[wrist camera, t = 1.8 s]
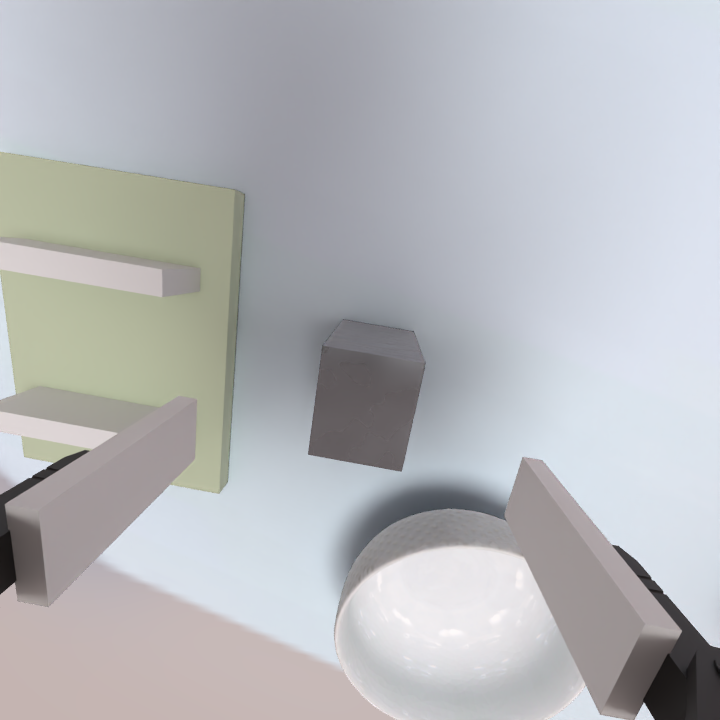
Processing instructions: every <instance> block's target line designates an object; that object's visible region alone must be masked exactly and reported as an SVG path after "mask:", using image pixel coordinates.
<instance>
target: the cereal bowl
mask: <svg viewBox="0 0 720 720" xmlns="http://www.w3.org/2000/svg"><path fill="white" fill-rule="evenodd" d="M334 641H335V648H336V653H337V656H338V659H339V661H340V664H341V666H342V668H343V670H344V672H345V674H346V676H347V678H348V679H349V680H350V682H351V683H352V685H353V686H354V687H355V688H356V689H357V691H358V692H359V693H360V694H361V695H362V696H363V697H364V698H365V699H366V700H367V701H369V702H370V703H371V704H372V705H374V706H375V707H376V708H377V709H379V710H380V711H382V712H384V713H385V714H387V715H388V716H390V717H392V718H394V719H396V720H547V719H549V718H551V717H553V716H555V715H556V714H558V713H559V712H561V711H562V710H563V709H564V708H565V707H567V706H568V705H569V704H570V703H571V702H572V701H573V700H574V699H575V698H576V697H577V696H578V695H579V694H580V693H581V691H582V690H583V689H584V687H585V686H586V684H585V682H584V680H583V678H582V676H581V674H580V672H579V670H578V668H577V666H576V664H575V661H574V659H573V657H572V655H571V653H570V651H569V649H568V647H567V645H566V643H565V641H564V639H563V637H562V635H561V632H560V630H559V628H558V626H557V624H556V622H555V620H554V618H553V616H552V614H551V612H550V610H549V608H548V606H547V603H546V601H545V599H544V597H543V595H542V593H541V591H540V589H539V587H538V585H537V583H536V581H535V579H534V577H533V574H532V572H531V570H530V568H529V566H528V564H527V562H526V560H525V558H524V556H523V554H522V552H521V550H520V548H519V545H518V543H517V541H516V539H515V537H514V535H513V533H512V531H511V529H510V527H509V525H508V523H507V521H505V520H503V519H499V518H497V517H496V516H492V515H488V514H485V513H480V512H475V511H470V510H463V509H459V510H458V509H450V508H447V509H441V510H433V511H428V512H421V513H418V514H415V515H412V516H408V517H407V518H403V519H402V520H398V521H397V522H395V523H393V524H391V525H390V526H388V527H387V528H386V529H384V530H382V531H381V532H380V533H379V534H378V535H376V536H375V537H374V538H373V539H372V540H371V541H370V542H369V543H368V545H367V546H366V547H365V548H364V549H363V550H362V552H361V553H360V555H359V556H358V557H357V558H356V560H355V562H354V563H353V565H352V567H351V570H350V571H349V572H348V576H347V579H346V581H345V583H344V588H343V590H342V593H341V598H340V601H339V605H338V611H337V615H336V621H335V628H334Z"/></svg>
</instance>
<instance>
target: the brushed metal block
mask: <svg viewBox="0 0 720 720" xmlns="http://www.w3.org/2000/svg"><path fill="white" fill-rule="evenodd" d="M425 364H426V363H425V360H424V358H423V355H422V352H421V350H420V347H419V344H418V342H417V339H416V336H415V334H414V331H408V330H402V329H397V328H391V327H385V326H379V325H373V324H367V323H362V322H356V321H350V320H344V319H343V320H342V321H341V322H340V324H339V325H338V326H337V328H336V329H335V330H334V331H333V333H332V334H331V335H330V336H329V338H328V339H327V340H326V342H325V343H324V344H323V345H322V353H321V360H320V368H319V375H318V383H317V391H316V398H315V406H314V413H313V421H312V428H311V436H310V444H309V451H308V455H314V456H319V457H325V458H330V459H336V460H341V461H346V462H352V463H357V464H363V465H368V466H374V467H379V468H385V469H390V470H395V471H401V472H402V468H403V463H404V459H405V454H406V450H407V445H408V441H409V436H410V432H411V427H412V423H413V418H414V414H415V409H416V405H417V400H418V396H419V391H420V387H421V382H422V378H423V373H424V369H425Z"/></svg>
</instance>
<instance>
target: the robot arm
mask: <svg viewBox="0 0 720 720" xmlns="http://www.w3.org/2000/svg"><path fill="white" fill-rule="evenodd" d="M196 419H197V399H194V398H188V397H183V396H178V397H176V398H174V399H173V400H171V401H170V402H168V403H166V404H165V405H163V406H162V407H160V408H158V409H157V410H155V411H153V412H152V413H150V414H149V415H147V416H145V417H144V418H142V419H141V420H139V421H137V422H136V423H134V424H133V425H131V426H129V427H128V428H126V429H125V430H123V431H121V432H120V433H118V434H117V435H115V436H113V437H112V438H110V439H108V440H107V441H105V442H104V443H102V444H100V445H99V446H97V447H96V448H94V449H92V450H91V451H88V450H83V451H80V452H77V453H75V454H72V455H69V456H66V457H64V458H62V459H60V460H59V461H57V462H55V463H54V464H52V465H50V466H48V467H47V469H46V470H44V469H43V470H42V471H40V472H38V473H37V474H35V475H33V477H32V478H28V479H26V480H25V481H23V482H21V483H20V484H18V485H16V486H15V487H13V488H11V489H10V490H8V491H6V492H4V493H3V494H1V495H0V594H1V593H3V592H4V591H5V590H6V589H7V588H8V587H9V586H11V585H12V584H13V583H14V582H15V585H16V592H17V600H18V601H19V602H24V603H29V604H35V605H40V606H45V607H49V606H50V605H51V604H52V603H53V602H54V601H55V600H56V599H57V598H58V597H59V596H60V595H61V594H62V593H63V592H64V591H65V590H66V589H67V588H68V587H69V586H70V585H71V584H72V583H73V582H74V581H75V580H76V579H77V578H78V577H79V576H80V575H81V574H82V573H83V572H84V571H85V570H86V569H87V568H88V567H89V566H90V565H91V564H92V563H93V562H94V561H95V560H96V559H97V558H98V557H99V556H100V555H101V554H102V553H103V552H104V551H105V550H106V549H107V548H108V547H109V546H110V545H111V544H112V543H113V542H114V541H115V540H116V539H117V538H118V537H119V536H120V535H121V534H122V533H123V531H124V530H125V529H126V528H127V527H128V526H129V525H130V524H131V523H132V522H133V521H134V520H135V519H136V518H137V517H138V516H139V515H140V514H141V513H142V512H143V511H144V510H145V509H146V508H147V507H148V506H149V505H150V504H151V503H152V502H153V501H154V500H155V499H156V498H157V497H158V496H159V495H160V494H161V493H162V492H163V491H164V490H165V489H166V488H167V487H168V486H169V485H170V484H171V483H172V482H173V481H174V480H175V479H176V478H177V477H178V476H179V475H180V474H181V473H182V472H183V471H184V470H185V469H186V468H187V467H188V466H189V465H190V464H191V463H192V462H193V461H194V460H195V446H196ZM504 516H505V519H506V521H507V523H508V525H509V527H510V529H511V531H512V533H513V535H514V537H515V539H516V541H517V543H518V545H519V548H520V550H521V552H522V554H523V556H524V558H525V560H526V562H527V564H528V566H529V568H530V570H531V572H532V574H533V577H534V579H535V581H536V583H537V585H538V587H539V589H540V591H541V593H542V595H543V597H544V599H545V601H546V603H547V606H548V608H549V610H550V612H551V614H552V616H553V618H554V620H555V622H556V624H557V626H558V628H559V630H560V632H561V635H562V637H563V639H564V641H565V643H566V645H567V647H568V649H569V651H570V653H571V655H572V657H573V659H574V661H575V664H576V666H577V668H578V670H579V672H580V674H581V676H582V678H583V680H584V682H585V684H586V686H587V688H588V690H589V693H590V695H591V697H592V699H593V701H594V703H595V705H596V707H597V709H598V711H599V713H600V715H605V716H611V717H616V718H621V719H626V720H634V719H635V718H636V716H637V714H638V712H639V710H640V708H641V706H642V705H643V703H645V704H646V706H647V708H648V709H649V711H650V713H651V714H652V716H653V718H654V719H655V720H720V648H717V647H713V646H710V645H709V644H708V643H707V642H706V640H705V639H704V638H703V637H702V636H701V635H700V633H699V632H698V631H697V630H696V629H695V628H694V626H693V625H692V624H691V623H690V622H689V621H688V619H687V618H686V617H685V616H684V615H683V614H682V613H681V611H680V610H679V609H678V608H677V607H676V606H675V604H674V603H673V602H672V601H671V600H670V599H669V597H668V596H667V595H665V594H663V590H662V589H661V588H660V587H659V586H658V585H657V583H656V582H655V581H653V580H651V577H650V575H649V574H648V573H647V572H646V571H645V570H644V568H643V567H642V566H641V565H640V564H639V563H638V561H636V560H635V559H634V558H633V557H631V556H630V555H629V554H628V553H626V552H625V551H624V550H623V549H622V548H620V547H619V546H615V545H611V544H610V542H609V541H608V540H607V539H606V538H605V536H604V535H603V534H602V533H601V531H600V530H599V529H598V528H597V527H596V525H595V524H594V523H593V522H592V520H591V519H590V518H589V517H588V516H587V514H586V513H585V512H584V511H583V509H582V508H581V507H580V506H579V505H578V503H577V502H576V501H575V500H574V498H573V497H572V496H571V495H570V494H569V492H568V491H567V490H566V489H565V488H564V486H563V485H562V484H561V483H560V481H559V480H558V479H557V478H556V477H555V475H554V474H553V473H552V472H551V470H550V469H549V468H548V467H547V466H546V464H545V463H544V462H543V461H542V460H538V459H532V458H526V457H523V458H522V461H521V464H520V467H519V470H518V473H517V476H516V480H515V483H514V486H513V489H512V492H511V495H510V498H509V501H508V505H507V508H506V511H505V514H504Z"/></svg>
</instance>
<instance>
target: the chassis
mask: <svg viewBox="0 0 720 720" xmlns="http://www.w3.org/2000/svg"><path fill="white" fill-rule="evenodd" d="M244 198H245V194H243V193H241V192H239V191H237V190H234V189H228V188H221V187H215V186H209V185H203V184H197V183H190V182H184V181H178V180H172V179H166V178H159V177H153V176H147V175H141V174H135V173H128V172H122V171H116V170H110V169H104V168H97V167H91V166H85V165H79V164H73V163H66V162H60V161H54V160H48V159H42V158H35V157H29V156H23V155H17V154H11V153H4V152H0V275H1V282H2V290H3V298H4V305H5V313H6V321H7V329H8V336H9V344H10V352H11V359H12V367H13V375H14V383H15V390H16V395H13V396H10V397H7V398H5V399H2V400H0V432H4V433H9V434H14V435H20V436H21V437H22V444H23V452H24V457H27V458H32V459H37V460H42V461H48V462H53V463H55V462H57V461H59V460H60V459H62V458H64V457H66V456H69V455H72V454H75V453H77V452H80V451H83V450H88V451H91V450H92V449H94V448H96V447H97V446H99V445H100V444H102V443H104V442H105V441H107V440H108V439H110V438H112V437H113V436H115V435H117V434H118V433H120V432H121V431H123V430H125V429H126V428H128V427H129V426H131V425H133V424H134V423H136V422H137V421H139V420H141V419H142V418H144V417H145V416H147V415H149V414H150V413H152V412H153V411H155V410H157V409H158V408H160V407H162V406H163V405H165V404H166V403H168V402H170V401H171V400H173V399H174V398H176V397H178V396H183V397H188V398H194V399H197V419H196V446H195V460H194V461H193V462H192V463H191V464H190V465H189V466H188V467H187V468H186V469H185V470H184V471H183V472H182V473H181V474H180V475H179V476H178V477H177V478H176V479H175V480H174V481H173V482H172V483H171V484H170V485H175V486H180V487H186V488H191V489H196V490H202V491H207V492H212V493H218V494H219V493H220V492H221V491H222V489H223V488H224V486H225V485H226V484H227V482H228V467H229V450H230V433H231V417H232V400H233V383H234V366H235V349H236V333H237V316H238V299H239V282H240V265H241V248H242V232H243V215H244Z"/></svg>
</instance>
